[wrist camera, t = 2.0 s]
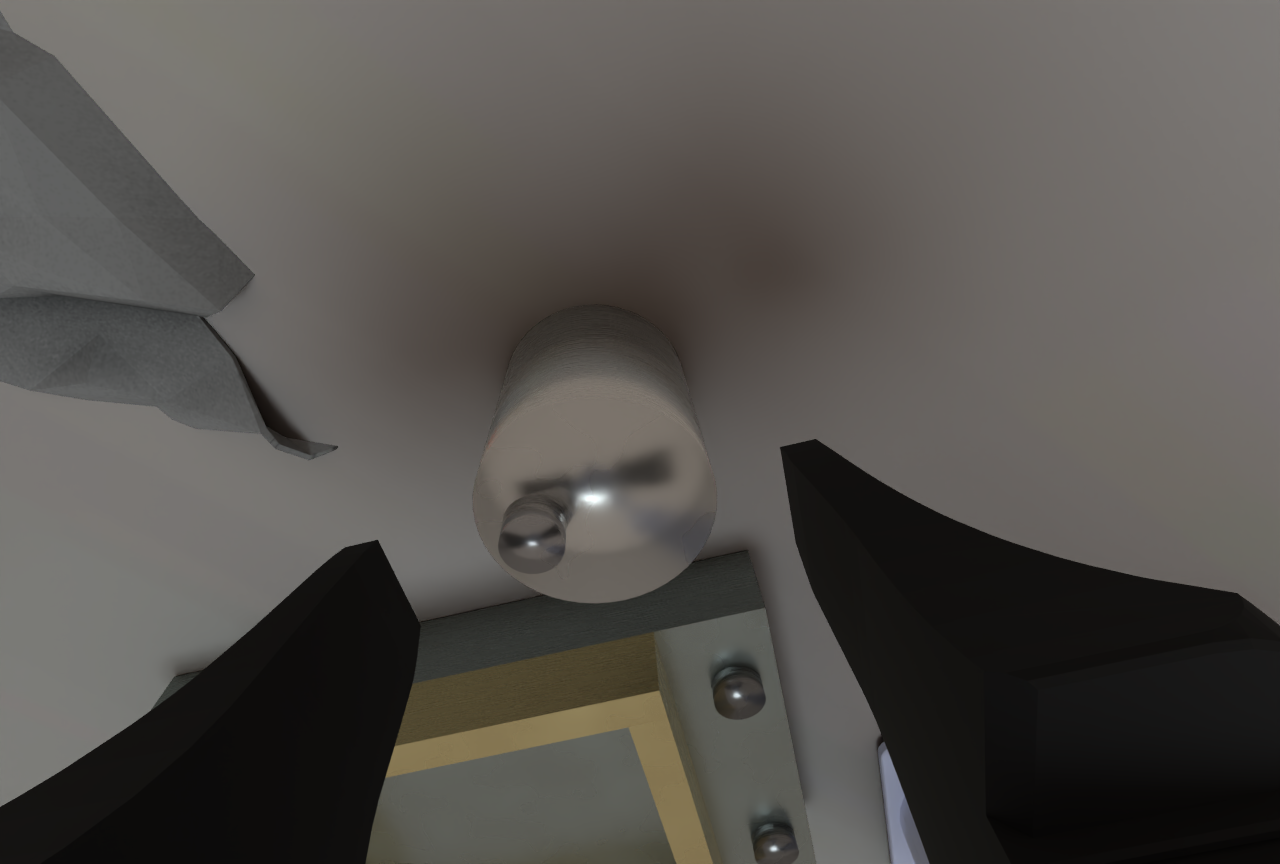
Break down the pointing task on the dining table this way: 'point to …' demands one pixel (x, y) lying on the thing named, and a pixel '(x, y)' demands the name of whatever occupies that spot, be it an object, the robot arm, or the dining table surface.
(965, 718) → the robot arm
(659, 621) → the metal tray
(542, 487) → the tin can
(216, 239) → the cloth
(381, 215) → the dining table surface
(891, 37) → the dining table surface
